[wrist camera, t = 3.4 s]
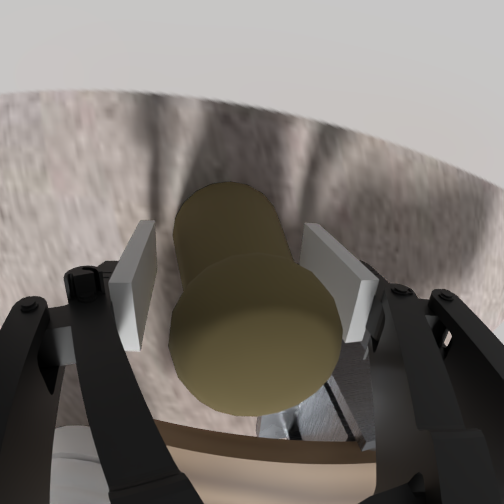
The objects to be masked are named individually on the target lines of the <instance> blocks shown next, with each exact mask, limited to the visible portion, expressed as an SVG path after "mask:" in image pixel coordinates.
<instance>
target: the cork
mask: <svg viewBox="0 0 504 504" xmlns="http://www.w3.org/2000/svg"><path fill="white" fill-rule="evenodd" d="M173 240H174V246H175V251H176V256H177V262H178V267H179V272H180V277H181V281H182V286H183V291H184V292H183V294H182V295H181V297H180V299H179V301H178V303H177V304H176V306H175V308H174V310H173V312H172V319H171V327H170V335H169V344H168V346H169V350H170V353H171V357H172V360H173V363H174V366H175V370H176V373H177V376H178V378H179V379H180V380H181V382H182V383H183V384H184V385H185V386H186V388H187V389H188V390H189V391H190V392H191V394H193V395H194V396H195V397H196V398H197V399H198V400H199V401H200V402H202V403H203V404H205V405H207V406H209V407H210V408H212V409H214V410H215V411H219V412H222V413H226V414H230V415H234V416H263V415H268V414H273V413H279V412H281V411H284V410H286V409H289V408H291V407H294V406H296V405H298V404H300V403H301V402H303V401H304V400H306V399H307V398H309V397H310V396H312V395H313V394H315V393H316V392H317V391H318V390H319V389H320V388H321V387H322V386H323V385H324V383H325V382H326V381H327V380H328V379H329V378H330V376H331V374H332V372H333V370H334V368H335V366H336V364H337V362H338V360H339V356H340V351H341V344H342V335H343V328H342V324H341V320H340V316H339V313H338V310H337V306H336V303H335V300H334V298H333V296H332V295H331V294H330V292H329V291H328V290H327V289H326V287H325V286H324V285H323V284H322V283H321V282H320V280H319V279H318V278H317V277H316V276H315V275H314V274H313V272H312V271H310V270H308V269H306V268H304V267H302V266H300V265H298V264H296V263H295V262H294V261H293V258H292V255H291V252H290V249H289V247H288V244H287V241H286V238H285V235H284V232H283V229H282V227H281V224H280V221H279V218H278V216H277V213H276V211H275V209H274V206H273V205H272V204H271V203H270V201H269V200H268V199H267V198H266V197H265V196H264V195H263V193H261V192H259V191H257V190H256V189H254V188H252V187H250V186H249V185H245V184H240V183H235V182H222V183H214V184H211V185H209V186H207V187H204V188H202V189H200V190H198V191H196V192H195V193H194V194H193V195H192V196H191V197H190V198H189V199H187V200H186V201H185V202H184V203H183V205H182V207H181V209H180V211H179V212H178V214H177V216H176V218H175V223H174V229H173Z"/></svg>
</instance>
